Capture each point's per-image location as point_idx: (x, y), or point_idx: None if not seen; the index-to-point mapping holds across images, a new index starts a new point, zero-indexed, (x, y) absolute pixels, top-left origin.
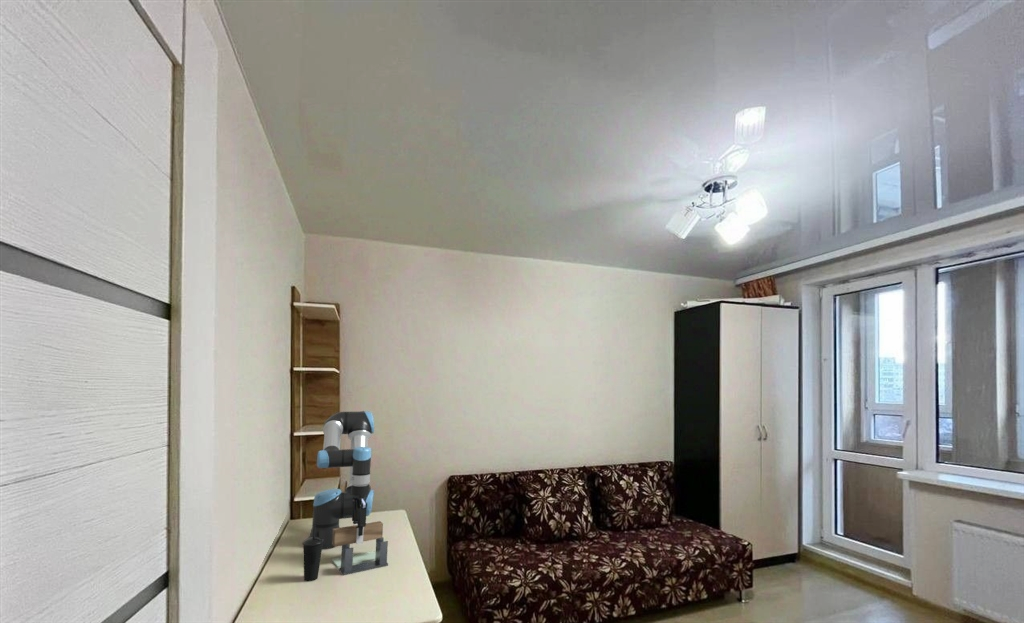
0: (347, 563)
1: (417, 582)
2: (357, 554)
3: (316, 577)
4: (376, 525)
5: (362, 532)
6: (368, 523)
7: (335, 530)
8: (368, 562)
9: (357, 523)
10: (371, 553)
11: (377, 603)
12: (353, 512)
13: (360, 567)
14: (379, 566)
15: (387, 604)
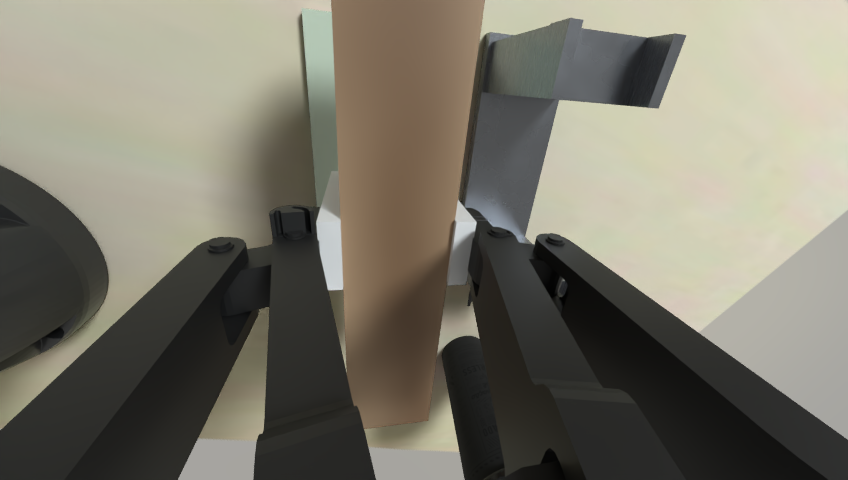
0: None
1: (820, 17)
2: (317, 144)
3: None
4: (477, 30)
5: (485, 220)
6: (362, 115)
7: (403, 419)
8: (483, 137)
9: (320, 251)
10: None
11: (768, 226)
12: (212, 401)
13: (513, 193)
14: (555, 100)
15: (800, 204)
